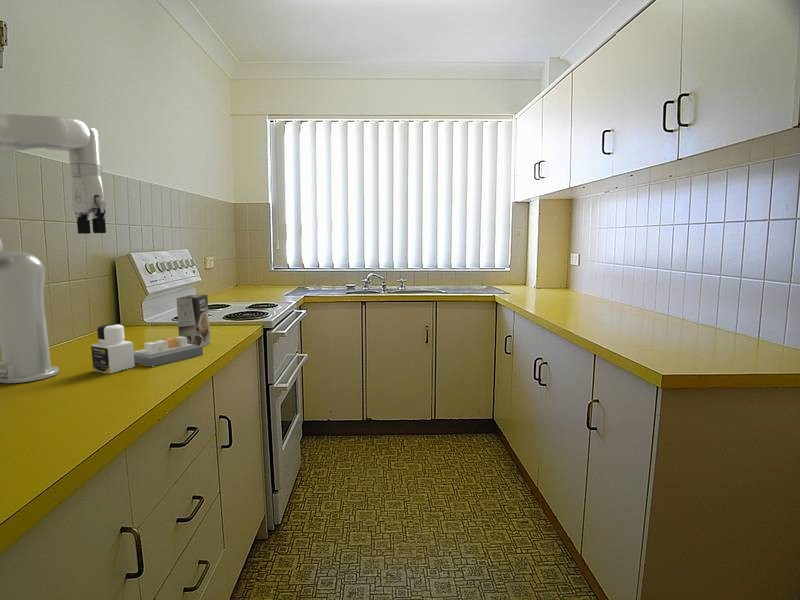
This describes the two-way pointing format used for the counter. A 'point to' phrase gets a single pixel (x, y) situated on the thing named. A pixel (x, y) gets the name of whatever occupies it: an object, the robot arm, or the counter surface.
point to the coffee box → (194, 319)
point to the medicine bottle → (112, 350)
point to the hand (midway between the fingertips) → (91, 233)
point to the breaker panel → (166, 351)
